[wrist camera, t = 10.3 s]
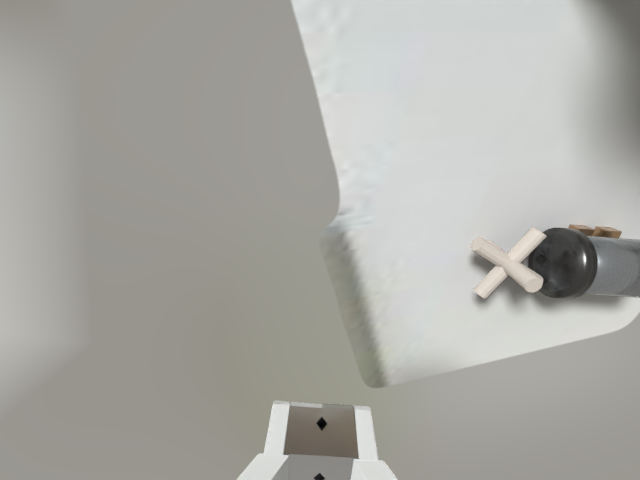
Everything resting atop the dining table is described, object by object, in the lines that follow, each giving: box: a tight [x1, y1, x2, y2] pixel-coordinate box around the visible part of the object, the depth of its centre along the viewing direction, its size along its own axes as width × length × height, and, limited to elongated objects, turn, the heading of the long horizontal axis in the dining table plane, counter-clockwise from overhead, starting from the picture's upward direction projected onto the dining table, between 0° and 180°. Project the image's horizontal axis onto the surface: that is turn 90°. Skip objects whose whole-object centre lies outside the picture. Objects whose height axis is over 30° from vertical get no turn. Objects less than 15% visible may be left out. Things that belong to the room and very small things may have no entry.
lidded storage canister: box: [529, 225, 640, 299], centre depth 38 cm, size 10×8×9 cm
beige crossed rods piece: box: [470, 227, 547, 299], centre depth 38 cm, size 10×10×10 cm
